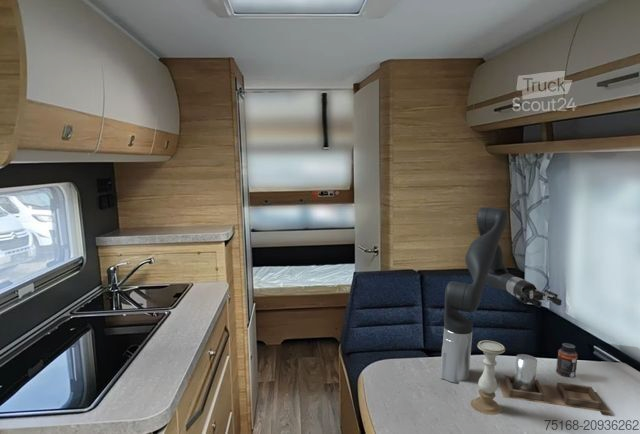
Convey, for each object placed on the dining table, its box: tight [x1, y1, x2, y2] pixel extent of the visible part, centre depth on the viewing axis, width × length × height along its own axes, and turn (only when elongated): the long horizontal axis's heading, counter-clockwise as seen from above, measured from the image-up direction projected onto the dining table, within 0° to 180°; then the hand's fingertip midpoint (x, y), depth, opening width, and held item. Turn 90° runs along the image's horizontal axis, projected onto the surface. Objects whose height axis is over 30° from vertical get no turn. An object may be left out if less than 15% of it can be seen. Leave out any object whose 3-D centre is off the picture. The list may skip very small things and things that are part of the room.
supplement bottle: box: [555, 342, 579, 379], centre depth 154 cm, size 6×6×11 cm
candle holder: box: [470, 339, 506, 416], centre depth 131 cm, size 9×9×20 cm
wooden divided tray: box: [497, 374, 612, 416], centre depth 140 cm, size 30×12×3 cm, turn 76°
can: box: [513, 353, 538, 392], centre depth 141 cm, size 6×6×11 cm
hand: (550, 303), depth 161 cm, fingers open, 8 cm apart
